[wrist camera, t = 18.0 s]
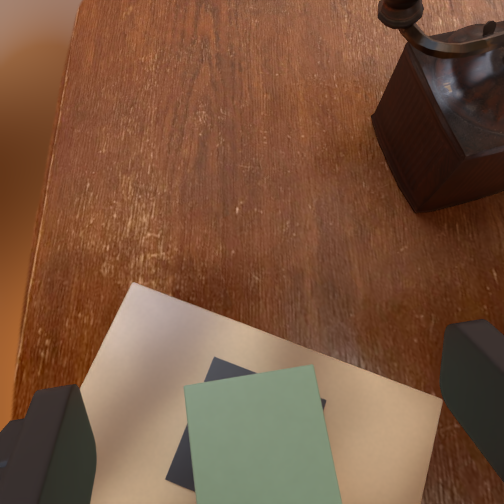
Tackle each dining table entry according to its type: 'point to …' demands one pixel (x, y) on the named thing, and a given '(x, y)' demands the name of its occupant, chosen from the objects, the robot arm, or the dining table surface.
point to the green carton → (261, 440)
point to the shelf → (228, 366)
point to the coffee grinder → (443, 111)
